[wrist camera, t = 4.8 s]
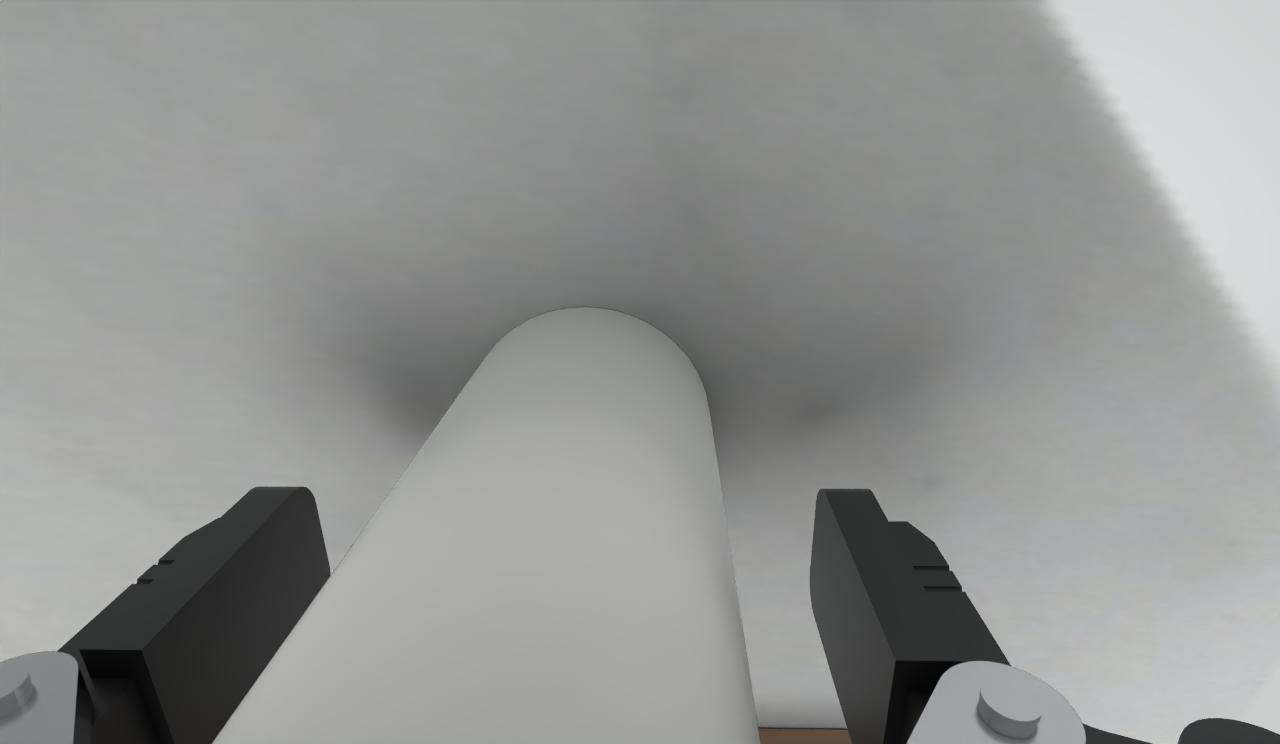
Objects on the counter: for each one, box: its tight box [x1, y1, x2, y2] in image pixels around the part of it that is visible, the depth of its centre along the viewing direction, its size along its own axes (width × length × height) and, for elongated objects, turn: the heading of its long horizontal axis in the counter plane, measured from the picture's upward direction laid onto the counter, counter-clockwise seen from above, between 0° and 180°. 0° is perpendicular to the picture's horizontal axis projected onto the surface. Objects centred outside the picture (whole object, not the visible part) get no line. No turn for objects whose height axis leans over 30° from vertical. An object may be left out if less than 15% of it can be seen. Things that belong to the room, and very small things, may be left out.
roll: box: [212, 307, 760, 744], centre depth 9 cm, size 5×5×12 cm
